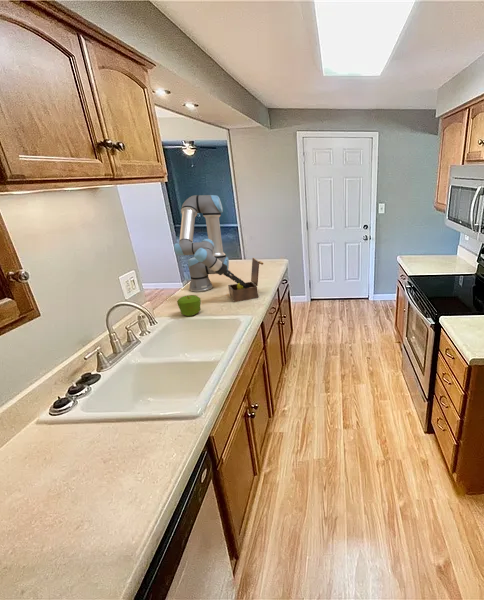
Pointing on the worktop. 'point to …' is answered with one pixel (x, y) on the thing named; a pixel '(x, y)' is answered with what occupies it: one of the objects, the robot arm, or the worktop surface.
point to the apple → (189, 305)
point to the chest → (243, 292)
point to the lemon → (239, 286)
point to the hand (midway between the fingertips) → (245, 286)
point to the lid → (255, 271)
